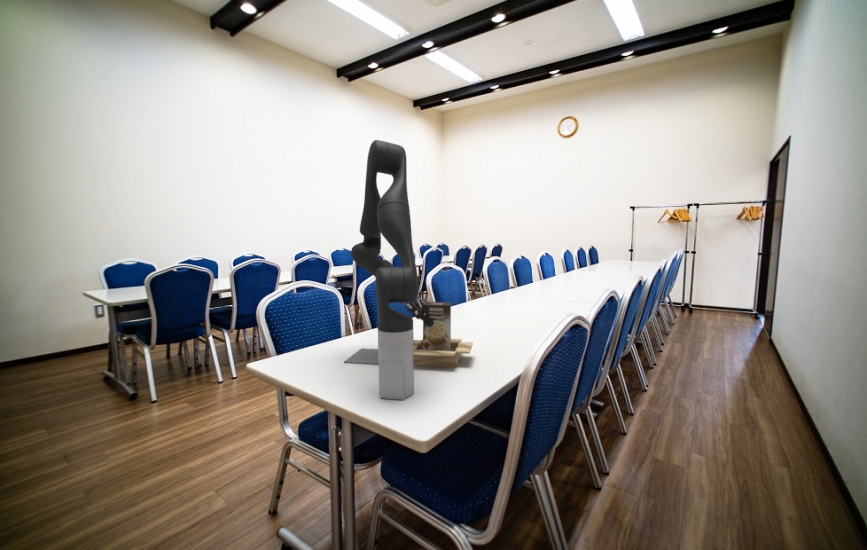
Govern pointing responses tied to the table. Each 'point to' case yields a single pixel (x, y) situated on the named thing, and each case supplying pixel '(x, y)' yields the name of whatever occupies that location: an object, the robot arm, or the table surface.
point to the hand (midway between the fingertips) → (434, 322)
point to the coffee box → (437, 326)
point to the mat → (364, 357)
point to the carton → (441, 354)
